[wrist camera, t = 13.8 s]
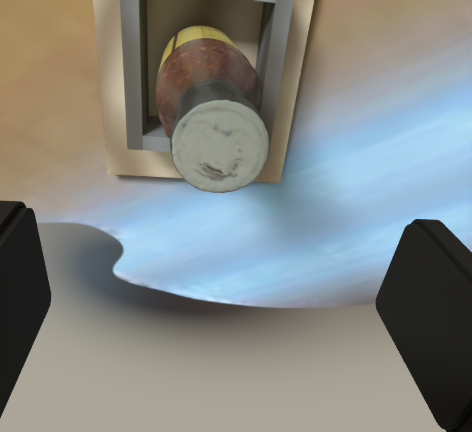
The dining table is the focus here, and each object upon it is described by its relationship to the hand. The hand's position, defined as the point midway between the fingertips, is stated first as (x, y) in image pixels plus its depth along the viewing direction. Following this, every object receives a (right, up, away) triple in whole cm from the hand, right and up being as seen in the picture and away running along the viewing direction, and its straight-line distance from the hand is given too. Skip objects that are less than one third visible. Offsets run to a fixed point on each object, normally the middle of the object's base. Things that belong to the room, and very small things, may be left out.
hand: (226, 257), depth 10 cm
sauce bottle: (-3, +14, +22) cm, 26 cm away
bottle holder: (-3, +15, +23) cm, 28 cm away
